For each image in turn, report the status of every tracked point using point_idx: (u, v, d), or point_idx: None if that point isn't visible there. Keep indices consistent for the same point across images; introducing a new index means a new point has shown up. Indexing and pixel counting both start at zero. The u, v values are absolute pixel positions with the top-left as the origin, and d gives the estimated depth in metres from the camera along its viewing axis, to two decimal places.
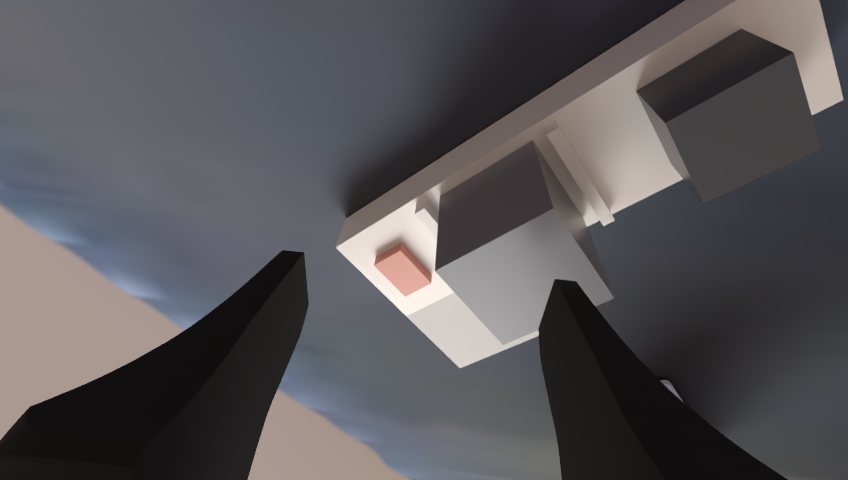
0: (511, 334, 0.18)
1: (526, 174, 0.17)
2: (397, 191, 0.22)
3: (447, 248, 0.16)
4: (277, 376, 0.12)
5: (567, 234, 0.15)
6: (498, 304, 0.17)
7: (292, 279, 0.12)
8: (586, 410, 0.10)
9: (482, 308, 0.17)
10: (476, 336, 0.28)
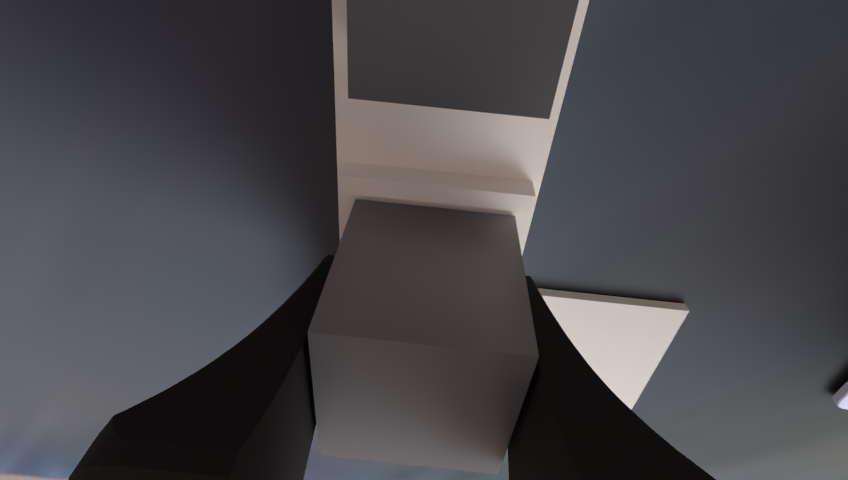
0: (487, 460, 0.11)
1: None
2: None
3: None
4: None
5: (364, 342, 0.09)
6: (424, 444, 0.11)
7: None
8: (527, 404, 0.10)
9: (415, 456, 0.11)
10: None
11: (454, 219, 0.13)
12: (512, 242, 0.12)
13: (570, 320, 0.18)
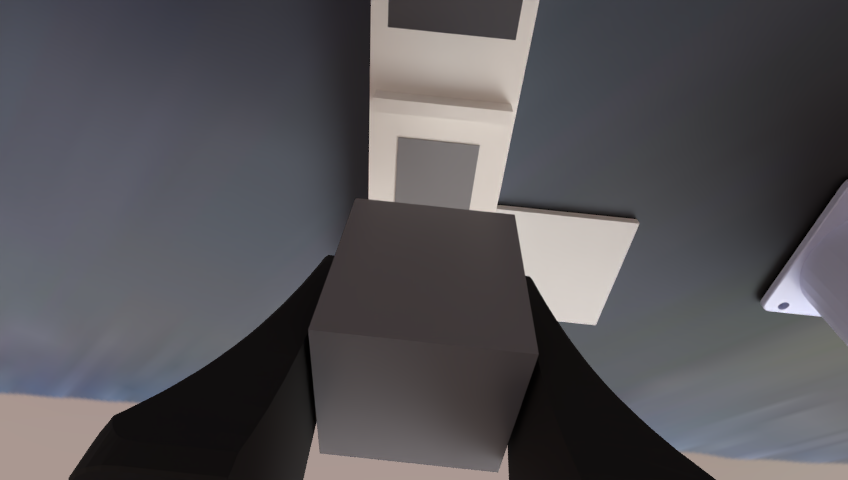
0: (488, 458, 0.11)
1: None
2: None
3: None
4: None
5: (365, 340, 0.09)
6: (424, 442, 0.11)
7: None
8: (527, 404, 0.10)
9: (416, 454, 0.11)
10: (573, 288, 0.25)
11: (454, 218, 0.13)
12: (512, 241, 0.12)
13: (546, 233, 0.23)
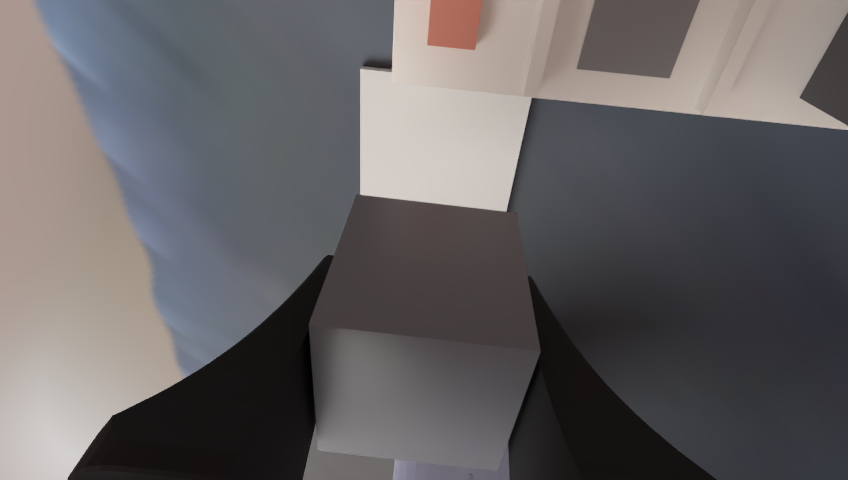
0: (487, 456, 0.11)
1: None
2: None
3: None
4: None
5: (366, 335, 0.09)
6: (423, 440, 0.11)
7: None
8: (528, 404, 0.10)
9: (414, 452, 0.11)
10: (414, 185, 0.22)
11: (455, 215, 0.13)
12: (513, 238, 0.12)
13: (494, 148, 0.20)
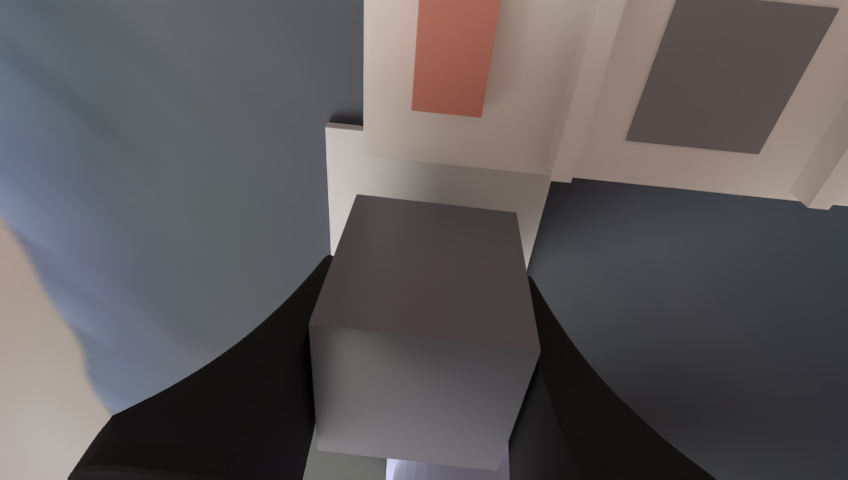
0: (487, 456, 0.11)
1: None
2: None
3: None
4: None
5: (366, 334, 0.09)
6: (423, 440, 0.11)
7: None
8: (528, 404, 0.10)
9: (414, 452, 0.11)
10: None
11: (455, 215, 0.13)
12: (513, 238, 0.12)
13: None
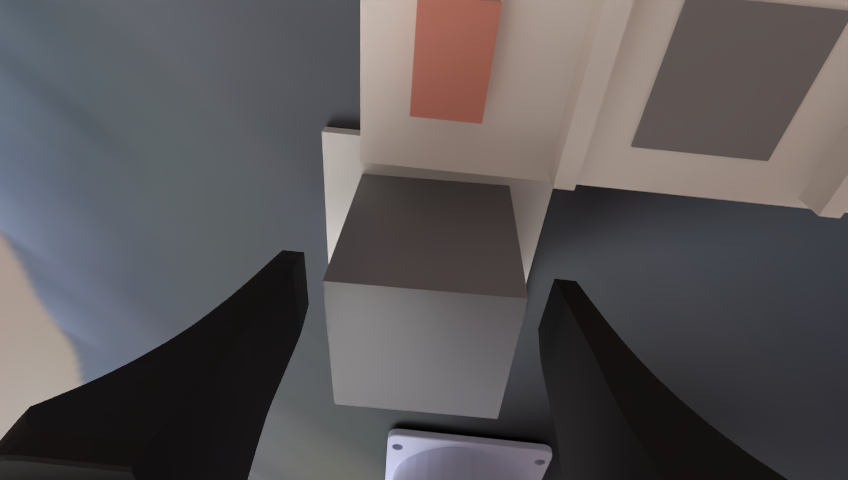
0: (487, 404, 0.12)
1: None
2: None
3: None
4: (277, 376, 0.12)
5: (373, 289, 0.10)
6: (429, 390, 0.12)
7: (292, 279, 0.12)
8: (586, 410, 0.10)
9: (422, 403, 0.12)
10: None
11: (453, 189, 0.14)
12: (506, 207, 0.13)
13: None
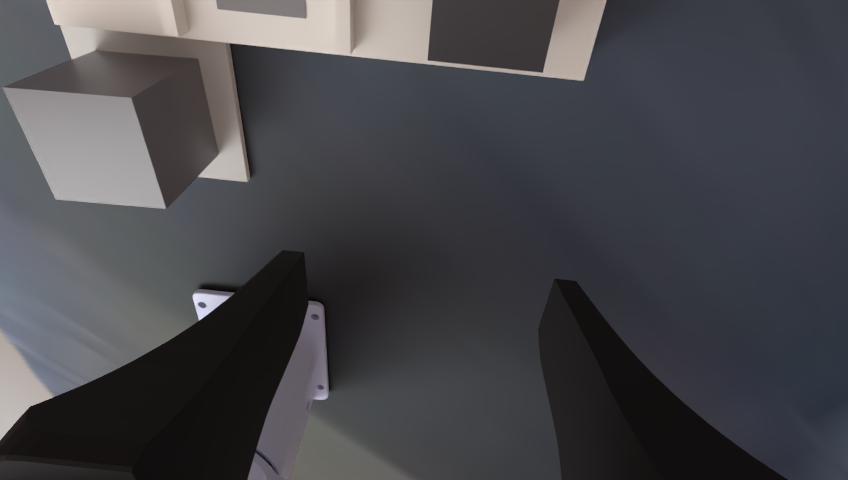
0: (153, 195, 0.18)
1: None
2: None
3: None
4: (277, 376, 0.12)
5: (35, 93, 0.16)
6: (110, 183, 0.18)
7: (292, 279, 0.12)
8: (586, 410, 0.10)
9: (111, 195, 0.18)
10: None
11: (152, 58, 0.20)
12: (178, 66, 0.19)
13: (209, 97, 0.21)
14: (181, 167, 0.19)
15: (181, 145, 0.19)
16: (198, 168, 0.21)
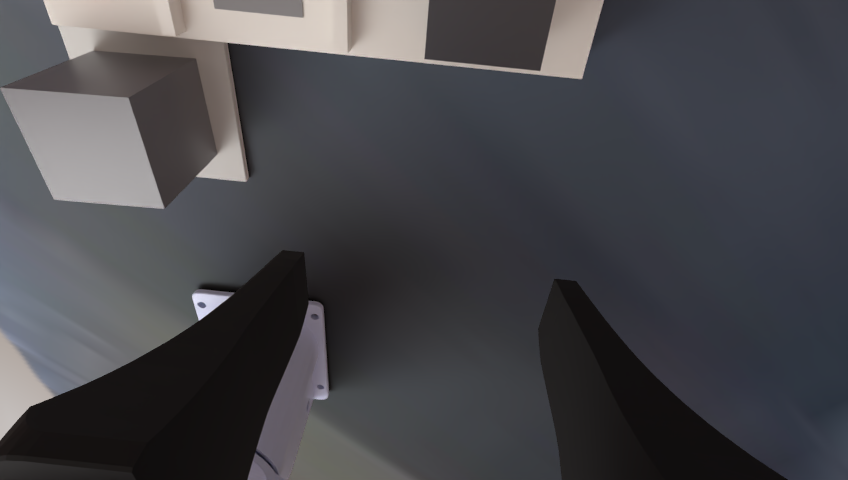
0: (151, 195, 0.18)
1: None
2: None
3: None
4: (277, 376, 0.12)
5: (33, 93, 0.16)
6: (108, 183, 0.18)
7: (292, 279, 0.12)
8: (586, 410, 0.10)
9: (109, 195, 0.18)
10: None
11: (150, 58, 0.20)
12: (176, 66, 0.19)
13: (207, 97, 0.21)
14: (179, 167, 0.19)
15: (179, 145, 0.19)
16: (196, 168, 0.21)
